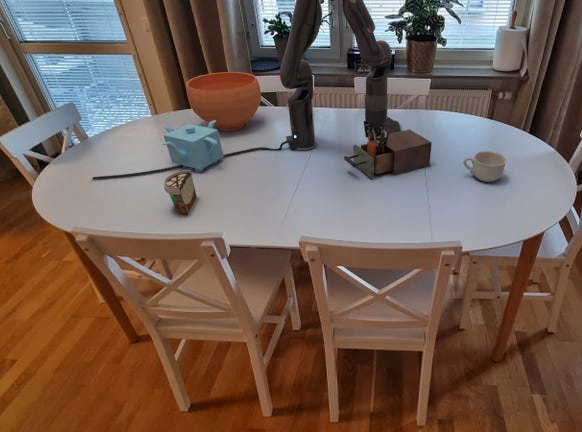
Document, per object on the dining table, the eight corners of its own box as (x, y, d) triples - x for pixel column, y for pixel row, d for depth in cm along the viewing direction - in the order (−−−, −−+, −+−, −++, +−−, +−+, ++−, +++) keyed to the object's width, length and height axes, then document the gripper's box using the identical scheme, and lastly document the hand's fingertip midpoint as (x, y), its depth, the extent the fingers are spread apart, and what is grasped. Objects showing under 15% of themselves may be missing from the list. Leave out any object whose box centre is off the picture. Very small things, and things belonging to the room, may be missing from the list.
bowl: (270, 114, 191) (264, 71, 180) (257, 139, 167) (249, 90, 155) (208, 115, 191) (198, 71, 179) (186, 139, 166) (173, 91, 155)
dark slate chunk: (367, 141, 164) (367, 131, 161) (366, 122, 182) (366, 113, 180) (403, 141, 164) (404, 130, 162) (398, 122, 183) (399, 112, 180)
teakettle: (226, 170, 143) (217, 132, 135) (170, 179, 137) (158, 140, 129) (222, 150, 158) (215, 114, 149) (172, 157, 152) (161, 120, 144)
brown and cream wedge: (179, 197, 127) (170, 169, 122) (198, 196, 128) (190, 168, 122) (166, 218, 117) (156, 189, 112) (187, 217, 118) (178, 188, 112)
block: (383, 154, 140) (384, 143, 137) (373, 157, 138) (373, 145, 135) (377, 150, 143) (378, 138, 140) (367, 152, 141) (367, 141, 138)
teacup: (502, 173, 141) (507, 153, 136) (501, 187, 132) (505, 166, 128) (463, 167, 145) (466, 147, 140) (459, 181, 136) (462, 160, 132)
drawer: (357, 181, 134) (356, 162, 130) (340, 166, 143) (339, 147, 139) (405, 168, 142) (406, 150, 138) (387, 155, 151) (387, 137, 147)
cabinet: (393, 175, 140) (394, 151, 135) (373, 159, 150) (374, 137, 145) (429, 165, 146) (431, 142, 141) (408, 151, 156) (409, 129, 151)
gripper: (356, 101, 134) (357, 148, 144) (377, 114, 124) (376, 163, 133) (375, 98, 137) (374, 143, 147) (397, 110, 127) (395, 158, 136)
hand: (375, 152), depth 140 cm, fingers closed on block, 4 cm apart
